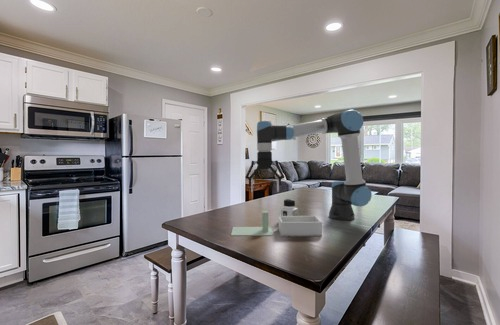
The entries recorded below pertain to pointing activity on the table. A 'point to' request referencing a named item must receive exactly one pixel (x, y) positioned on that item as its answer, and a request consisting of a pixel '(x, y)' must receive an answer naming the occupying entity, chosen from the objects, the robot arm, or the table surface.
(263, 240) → the table surface
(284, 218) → the tub
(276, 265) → the table surface
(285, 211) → the container
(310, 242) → the table surface
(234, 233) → the green base with post
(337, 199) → the robot arm
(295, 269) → the table surface
